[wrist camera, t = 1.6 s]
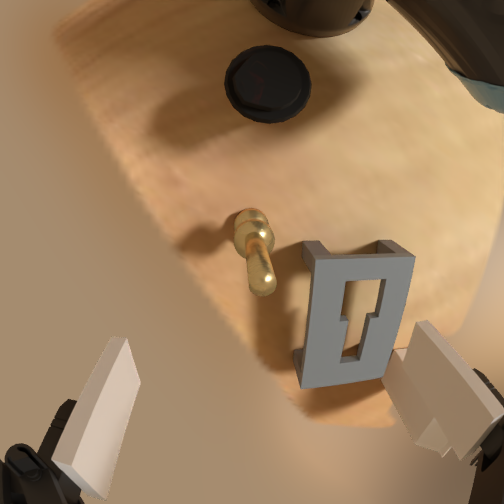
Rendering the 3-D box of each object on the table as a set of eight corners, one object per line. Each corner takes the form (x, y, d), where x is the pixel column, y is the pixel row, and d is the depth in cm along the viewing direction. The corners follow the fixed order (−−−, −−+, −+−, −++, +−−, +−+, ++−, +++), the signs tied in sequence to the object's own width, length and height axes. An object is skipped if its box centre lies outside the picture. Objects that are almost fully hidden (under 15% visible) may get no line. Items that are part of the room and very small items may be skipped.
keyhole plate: (302, 240, 34) (315, 259, 28) (391, 239, 34) (415, 256, 29) (293, 360, 40) (300, 389, 34) (368, 351, 41) (383, 377, 35)
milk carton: (380, 380, 43) (423, 464, 25) (393, 348, 41) (449, 434, 23) (411, 375, 44) (458, 449, 26) (425, 344, 41) (483, 419, 24)
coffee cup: (279, 63, 27) (297, 30, 17) (300, 119, 29) (328, 108, 20) (218, 82, 27) (210, 54, 18) (240, 139, 30) (242, 134, 20)
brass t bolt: (233, 208, 32) (232, 257, 18) (268, 208, 32) (293, 255, 18) (234, 241, 33) (234, 310, 19) (267, 240, 34) (290, 308, 20)
